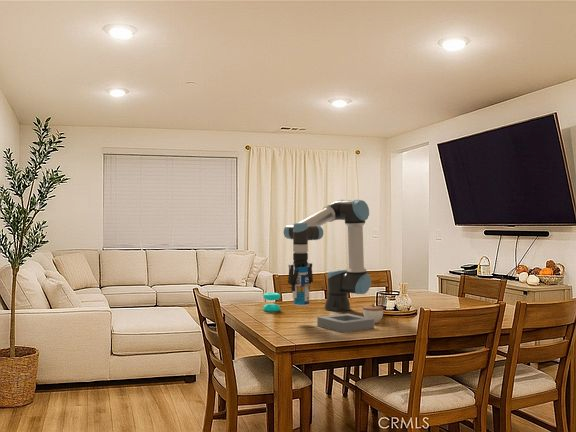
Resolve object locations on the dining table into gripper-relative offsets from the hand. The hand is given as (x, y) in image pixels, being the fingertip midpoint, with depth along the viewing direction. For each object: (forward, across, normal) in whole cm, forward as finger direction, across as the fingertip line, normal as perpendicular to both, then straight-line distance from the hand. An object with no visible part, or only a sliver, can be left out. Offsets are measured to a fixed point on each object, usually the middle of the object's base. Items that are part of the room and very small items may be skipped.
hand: (300, 296), depth 312 cm
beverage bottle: (+4, 0, 0) cm, 4 cm away
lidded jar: (+14, -34, +17) cm, 41 cm away
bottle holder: (+14, -12, +21) cm, 28 cm away
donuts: (+14, -8, -41) cm, 44 cm away
